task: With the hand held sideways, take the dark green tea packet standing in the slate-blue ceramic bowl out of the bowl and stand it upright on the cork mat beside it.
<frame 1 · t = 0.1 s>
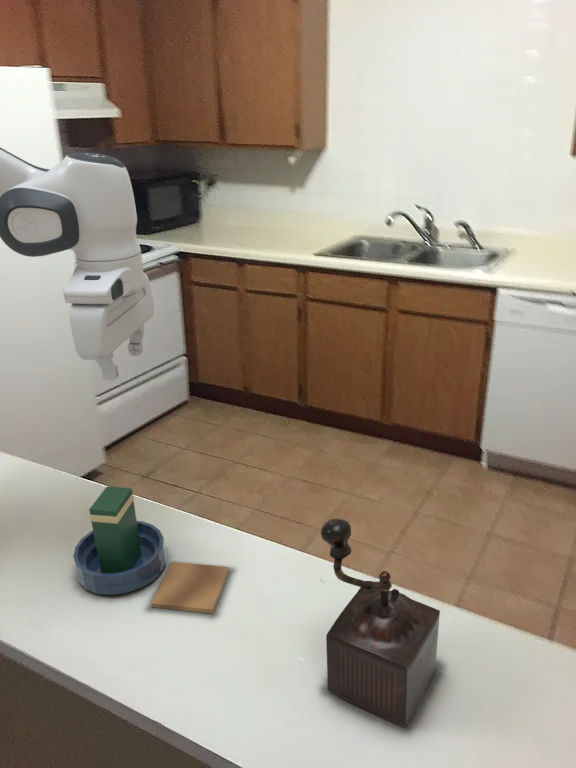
hand: (124, 365, 99), 29 cm above the countertop, tool pointing down, fingers open, 8 cm apart
cork mat: (191, 588, 97), on the countertop
tea packet: (122, 564, 102), point 1 cm above the countertop, touching bowl
bowl: (122, 567, 102), on the countertop
manual coffee grinder: (365, 670, 83), on the countertop
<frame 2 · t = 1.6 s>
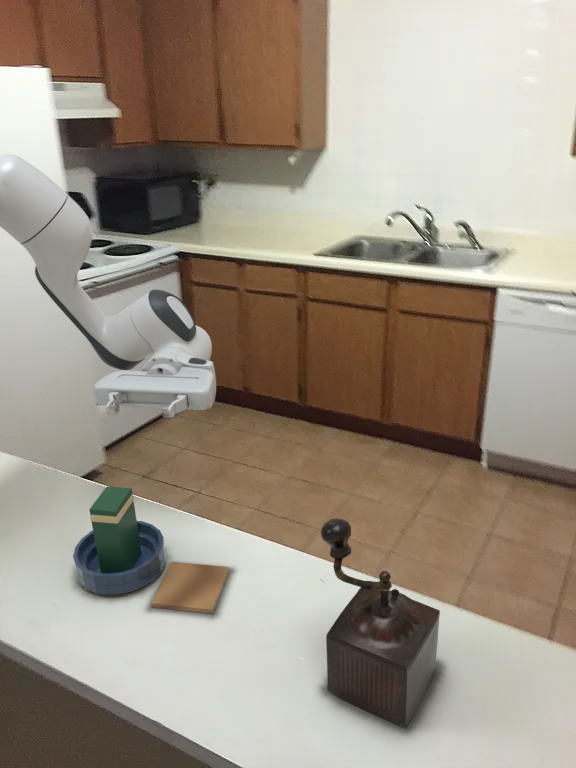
hand: (138, 411, 105), 20 cm above the countertop, tool horizontal, fingers open, 8 cm apart
nothing on the countertop moved.
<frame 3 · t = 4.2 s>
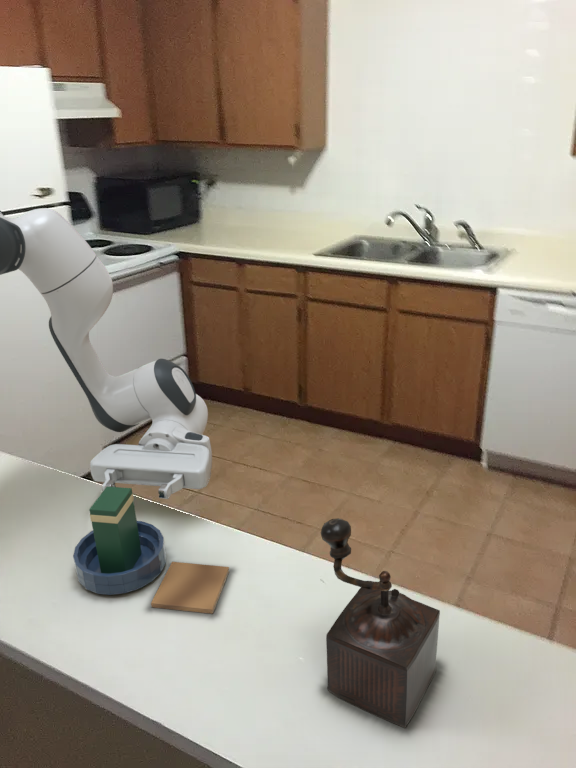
hand: (134, 492, 106), 8 cm above the countertop, tool horizontal, fingers open, 8 cm apart
nothing on the countertop moved.
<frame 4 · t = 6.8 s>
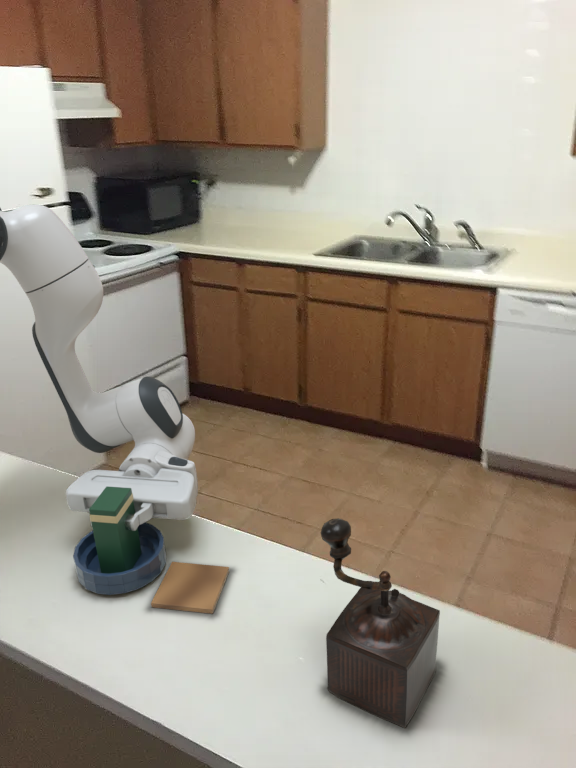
hand: (112, 525, 98), 9 cm above the countertop, tool horizontal, fingers closed on tea packet, 4 cm apart
tea packet: (122, 564, 102), point 1 cm above the countertop, touching bowl, gripper
everything else where it was.
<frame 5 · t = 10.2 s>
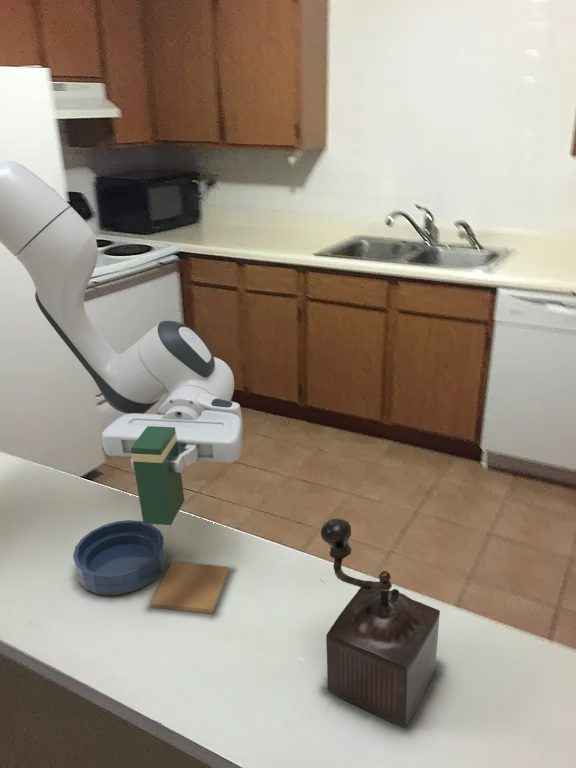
hand: (155, 467, 90), 20 cm above the countertop, tool horizontal, fingers closed on tea packet, 4 cm apart
tea packet: (164, 511, 94), point 12 cm above the countertop, touching gripper
everything else where it was.
when the fingers open (9 cm above the countertop, at t = 14.1 s): tea packet stays where it is, resting on cork mat.
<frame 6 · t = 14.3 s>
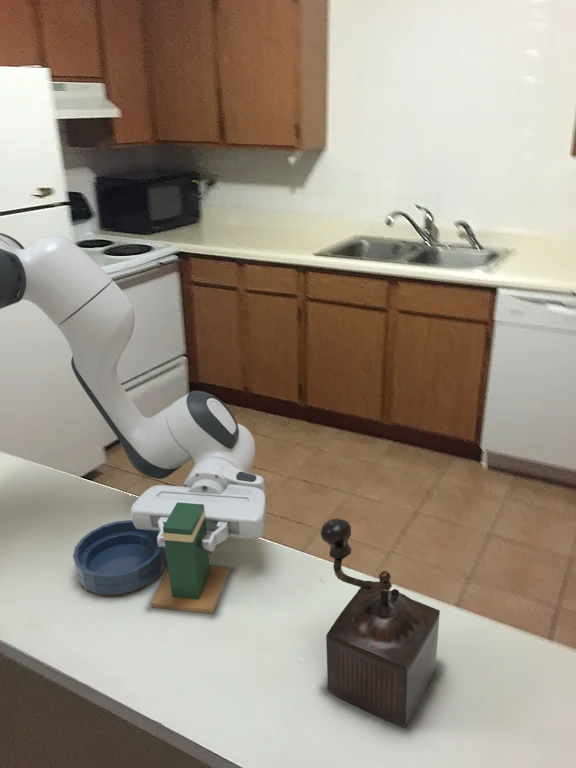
hand: (184, 545, 93), 8 cm above the countertop, tool horizontal, fingers open, 5 cm apart
tea packet: (191, 583, 97), point 1 cm above the countertop, touching cork mat
everything else where it was.
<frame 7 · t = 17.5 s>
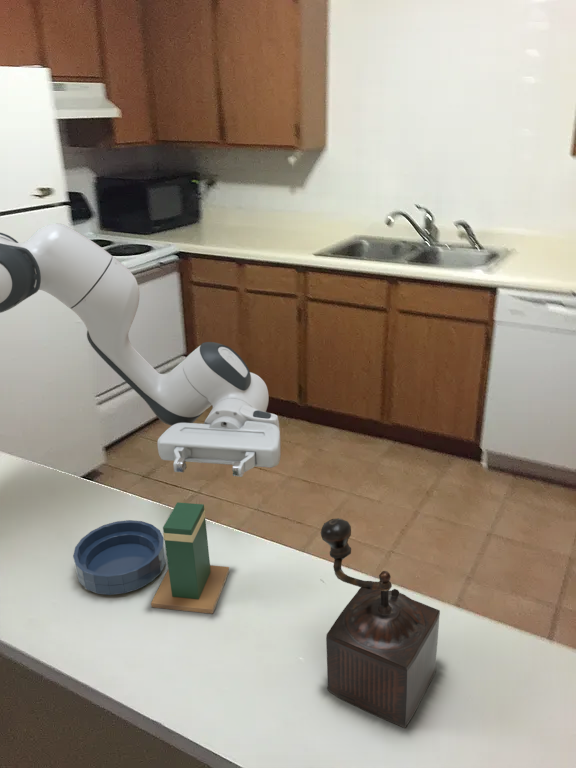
hand: (207, 470, 103), 13 cm above the countertop, tool horizontal, fingers open, 8 cm apart
nothing on the countertop moved.
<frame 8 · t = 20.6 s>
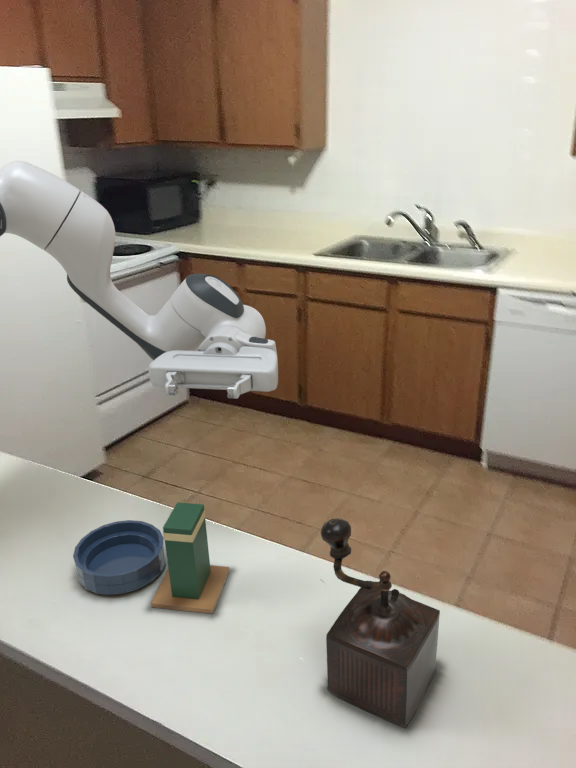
hand: (200, 392, 98), 26 cm above the countertop, tool horizontal, fingers open, 8 cm apart
nothing on the countertop moved.
at the end: tea packet inside the target area on the cork mat (0.1 cm from its centre), point 0.8 cm above the cork mat's base; tea packet tilted 0°; tea packet touching cork mat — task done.
